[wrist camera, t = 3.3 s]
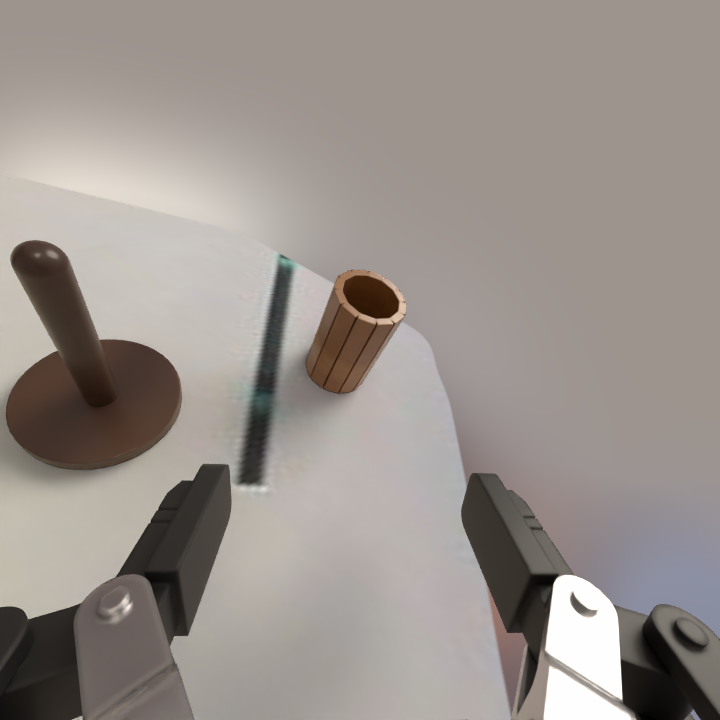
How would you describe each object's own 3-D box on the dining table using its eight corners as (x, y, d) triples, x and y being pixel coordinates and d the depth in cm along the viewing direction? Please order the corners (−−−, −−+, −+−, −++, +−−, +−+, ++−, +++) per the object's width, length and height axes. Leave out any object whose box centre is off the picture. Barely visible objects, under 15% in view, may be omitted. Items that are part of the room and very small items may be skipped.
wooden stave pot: (299, 381, 32) (327, 307, 24) (314, 336, 36) (342, 260, 28) (359, 400, 33) (404, 335, 25) (367, 354, 37) (408, 285, 29)
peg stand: (-31, 445, 21) (-262, 271, 11) (78, 332, 28) (-1, 154, 17) (138, 487, 23) (80, 371, 12) (203, 371, 29) (201, 230, 19)
